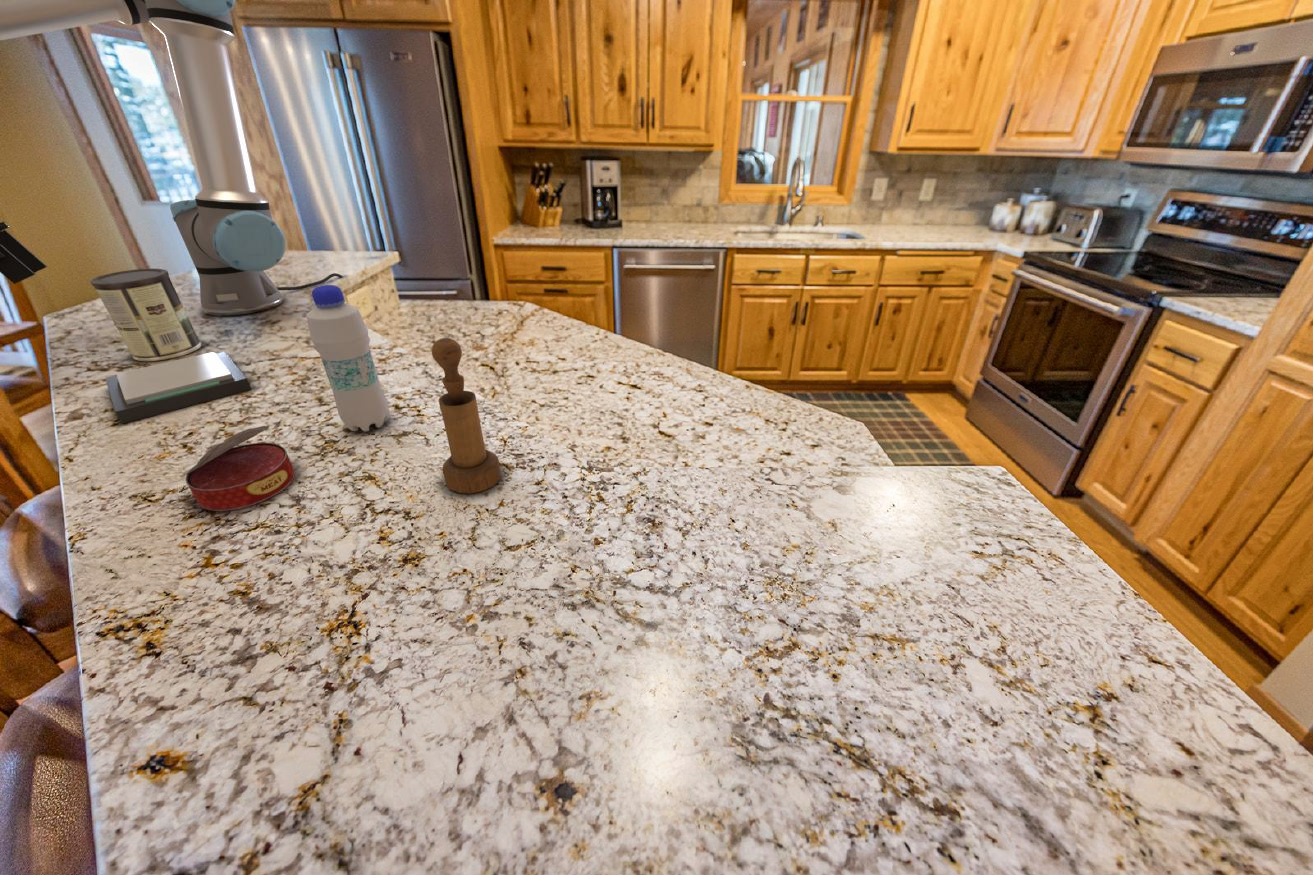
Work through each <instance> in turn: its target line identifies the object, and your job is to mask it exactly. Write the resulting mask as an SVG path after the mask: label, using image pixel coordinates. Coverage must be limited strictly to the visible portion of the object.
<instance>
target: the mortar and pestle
mask: <svg viewBox="0 0 1313 875" xmlns="http://www.w3.org/2000/svg"><path fill="white" fill-rule="evenodd" d="M462 351H463V350H462V348H461V346H460V344H459V343H458V342H457V340H456V339H454V338H450V337H443V338H439V339H437V340H436V341H435V342H433V344H432V346H431V356H432V358H433V360H434V361H435V362H436V363H437V365H438V366H439V367H440V368H441V369H442V370H443V372H444V377H443V378H442V379H441V382H442V385H443V387H444V388H445V390H446V392H447V393H445V394H442V395H441V396H440V397H439V398H438V405H439V408H440V412H441V417H442V420H443V425H444V429H445V433H446V437H447V443H448V447H449V451H450V456H449V457H448V458H447V459H446V460H445V461H444V463H443V465H442V474H443V478H444V483H445V485H446V487H447V488H448V489H449V490H451V491H452V492H455V493H459V494H475V493H480V492H484V491H486V490H489V489H490V488H492V487H494V486H495V485H496V484H497V483H499V481H500V480H501V477H502V470H501V467H500V466H501V465H500V462H499V458H498V455H496V454H495V453H494V452H493V451H491V450H488V449H487V448H486V446H485V440H484V435H483V431H482V424H481V419H480V412H479V407H478V403H477V398H476V397H477V396H476V394H475V392H473V391H470V390H464V389H465V377H464V376H463V375H462V374H460V373H459V364H460V363H461V359H462V356H463V352H462Z"/></svg>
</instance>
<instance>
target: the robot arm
mask: <svg viewBox="0 0 1313 875" xmlns="http://www.w3.org/2000/svg"><path fill="white" fill-rule="evenodd" d="M236 2H237V0H0V41H6V40H11V39H16V38H17V39H18V38H23V37H28V36H34V35H38V34H44V33H50V32H56V31H61V30H67V29H73V28H78V27H83V26H84V27H85V26H91V25H96V24H102V23H107V22H113V21H118V22H120V23H122V24H123V25H125V26H128V27H129V26H133V25H139V24H149V23H151V24H152V25H153V26H154V27H155V28H156V29H157V30H159V32H160V33H161V34H163V36H164V38H165V42H166V46H167V51H168V55H169V59H170V62H171V66H172V71H173V74H174V78H175V82H176V88H177V90H178V94H179V99H180V102H181V106H182V110H183V114H184V120H185V123H186V127H187V132H188V135H189V139H190V144H191V148H192V150H193V155H194V159H195V163H196V167H197V171H198V176H199V179H200V183H201V189H200V190H199V191H198V192H197V193H196V194H195V195H194V198H192V199H186V200H183V199H182V200H177V201H173V202H171V203H170V206H169V209H170V213H171V215H172V221H173V222H174V223H175V225H176V227H177V229H178V231H179V234H180V236H181V238H182V240H183V243H184V245H185V247H186V249H187V252H188V254H189V256H190V258H191V261H192V263H193V265H194V268H195V269H196V272H197V274H198V277H199V295H200V296H199V298H200V304H201V308H202V310H203V312H204V313H205V314H206V315H209V316H216V317H230V316H241V315H248V314H254V313H258V312H263V311H266V310H270V309H272V308H275V307H277V306H279V305H280V304H281V305H282V303H283V301H284V299H283V296H282V294H281V292H280V291H299V290H303V289H308V288H311V287H315V286H318V285H321V284H324V283H326V282H328V281H329V280H331V279H332V278H333V277H337V278H339V279H342V278H344V276H343V275H342V274H340V273H337V272H335V273H330V274H328V275H327V276H326V277H324V278H323V279H321V280H317V281H314V282H311V283H306V284H302V285H297V286H276V285H275V283H274V282H273V281H272V280H271V279H270V277H269V276H268V275H267V274H266V272H265V271H268V270H270V269H272V268H274V267H275V266H276V265H278V264H279V263H280V261H282V259H283V258H284V255H285V252H286V248H287V247H286V246H287V244H286V237H285V235H284V232H283V231H282V229H281V227H280V226H279V225H278V224H277V222H275V220H273V218H272V213H271V208H270V202H269V200H268V199H267V198H266V197H265V196H263V195H262V194H260V192H259V191H258V188H257V185H256V178H255V175H254V169H253V165H252V161H251V154H250V149H249V145H248V141H247V136H246V131H245V127H244V122H243V117H242V112H241V107H240V103H239V102H240V101H239V97H238V93H237V88H236V82H235V78H234V73H233V69H232V64H231V59H230V54H229V49H228V48H229V46H230V44H232V42H233V41H234V40H235V39H236V35H235V30H234V25H233V20H232V15H231V14H232V13H231V12H232V10H233V9H234V7H235V4H236ZM9 228H10V226H9V225H8V224H7V223H6V222H5V221H0V274H2V276H4V277H5V278H6V279H7V280H9V281H10V282H11V283H13V284H14V285H15V284H18V283H20V282H23V281H24V280H26V279H29V278H32V277H33V276H35V275H36V273H37V272H40V271H41V270H44V269H46V268H48V266H47V265H46V264H45V263H44V262H43V261H42V260H41V259H39V257H37V256H36V255H35V254H34V253H33V252H31V250H29V249H28V248H27V247H26V246H25V245H23V243H21V242H20V241H19V240H18V239H17V238H15V237H14V236H13V235H12V234H11V233H10V232H8V229H9Z"/></svg>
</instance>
